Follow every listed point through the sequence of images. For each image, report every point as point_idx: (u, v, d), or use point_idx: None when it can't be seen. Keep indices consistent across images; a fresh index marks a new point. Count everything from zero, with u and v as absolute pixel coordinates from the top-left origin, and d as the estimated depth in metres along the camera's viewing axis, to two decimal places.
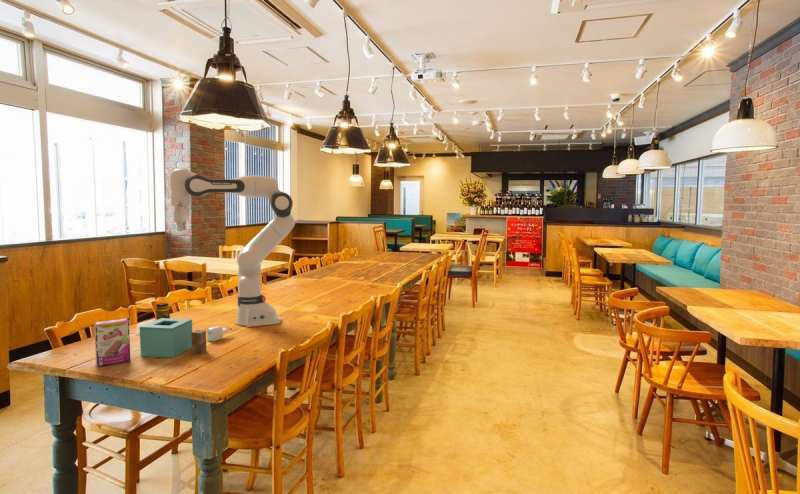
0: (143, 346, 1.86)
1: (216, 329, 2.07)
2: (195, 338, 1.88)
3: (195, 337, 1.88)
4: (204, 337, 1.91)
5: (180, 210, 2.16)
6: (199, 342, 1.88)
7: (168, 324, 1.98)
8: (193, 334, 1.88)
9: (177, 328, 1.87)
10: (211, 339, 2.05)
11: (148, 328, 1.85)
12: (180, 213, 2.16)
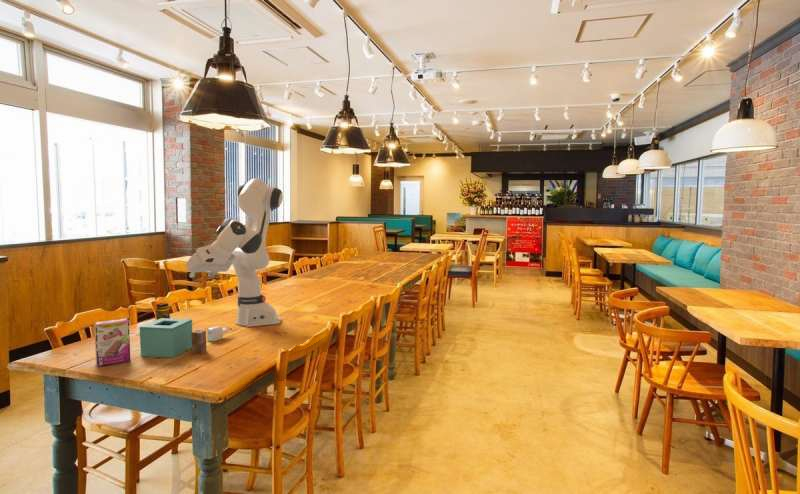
0: (143, 346, 1.86)
1: (216, 329, 2.07)
2: (195, 338, 1.88)
3: (195, 337, 1.88)
4: (204, 337, 1.91)
5: None
6: (199, 342, 1.88)
7: (168, 324, 1.98)
8: (193, 334, 1.88)
9: (177, 328, 1.87)
10: (211, 339, 2.05)
11: (148, 328, 1.85)
12: None
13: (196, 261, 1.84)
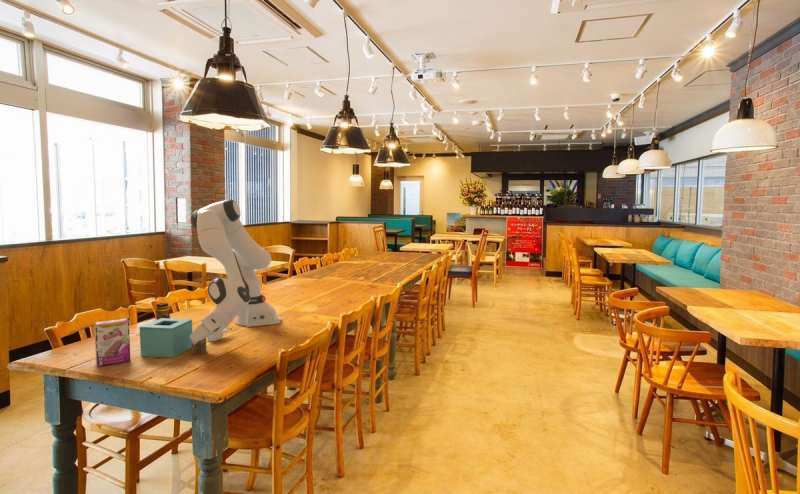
0: (143, 346, 1.86)
1: None
2: None
3: None
4: None
5: None
6: (199, 342, 1.88)
7: (168, 324, 1.98)
8: None
9: (177, 328, 1.87)
10: (211, 339, 2.05)
11: (148, 328, 1.85)
12: None
13: (203, 333, 1.80)
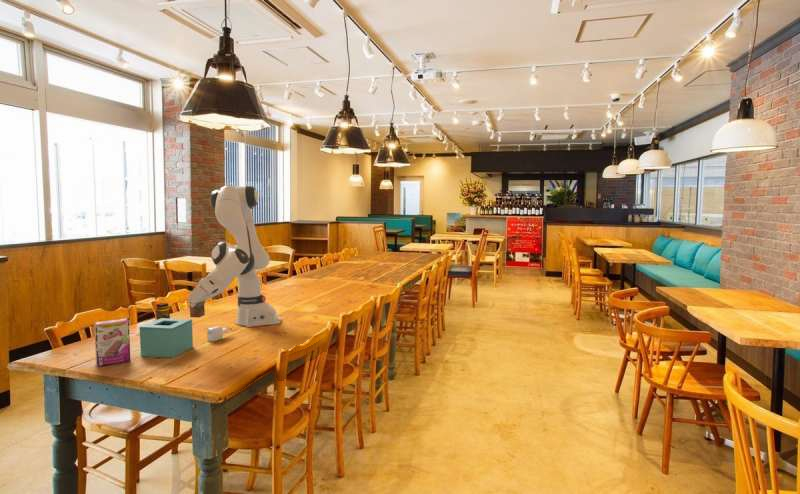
0: (143, 346, 1.86)
1: (216, 329, 2.07)
2: None
3: None
4: None
5: None
6: (197, 305, 1.87)
7: (168, 324, 1.98)
8: None
9: (177, 328, 1.87)
10: (211, 339, 2.05)
11: (148, 328, 1.85)
12: None
13: (201, 294, 1.78)
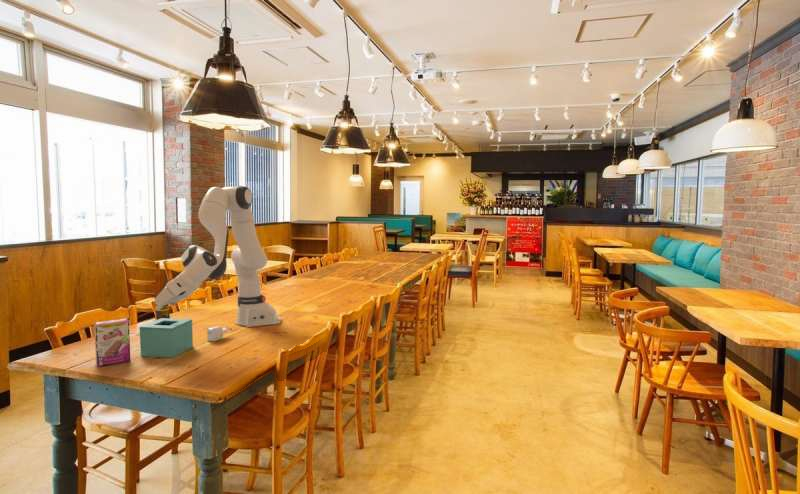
0: (143, 346, 1.86)
1: (216, 329, 2.07)
2: None
3: None
4: None
5: None
6: None
7: (168, 324, 1.98)
8: None
9: (177, 328, 1.87)
10: (211, 339, 2.05)
11: (148, 328, 1.85)
12: None
13: (168, 296, 1.80)
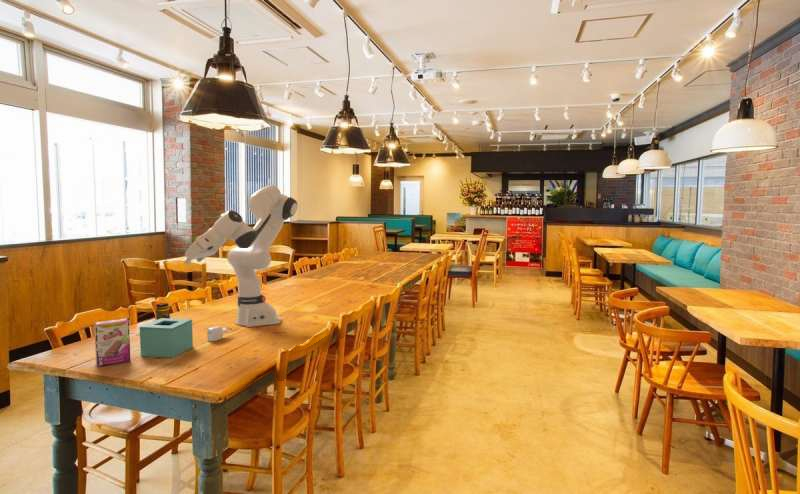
0: (143, 346, 1.86)
1: (216, 329, 2.07)
2: None
3: None
4: None
5: None
6: None
7: (168, 324, 1.98)
8: None
9: (177, 328, 1.87)
10: (211, 339, 2.05)
11: (148, 328, 1.85)
12: None
13: (197, 250, 1.94)
